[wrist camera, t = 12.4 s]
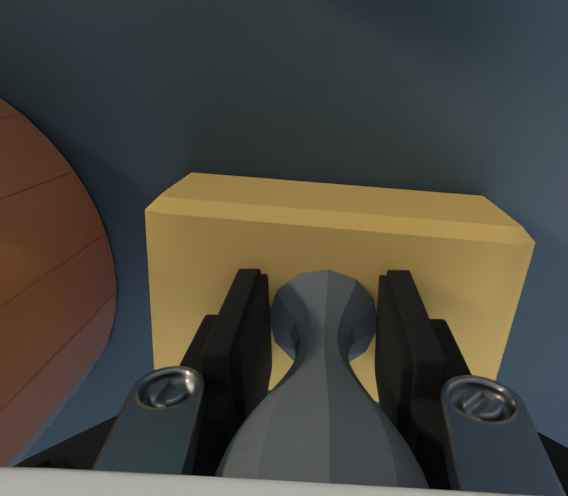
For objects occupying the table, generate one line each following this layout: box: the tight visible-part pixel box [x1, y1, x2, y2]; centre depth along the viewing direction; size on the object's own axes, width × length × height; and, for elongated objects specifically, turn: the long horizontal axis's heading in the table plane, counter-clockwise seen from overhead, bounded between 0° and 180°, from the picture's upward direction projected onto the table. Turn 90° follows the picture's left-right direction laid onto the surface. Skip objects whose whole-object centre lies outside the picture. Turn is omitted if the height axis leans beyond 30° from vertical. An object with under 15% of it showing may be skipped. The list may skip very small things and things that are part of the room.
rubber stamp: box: [145, 173, 535, 489], centre depth 10 cm, size 10×6×12 cm, turn 86°
